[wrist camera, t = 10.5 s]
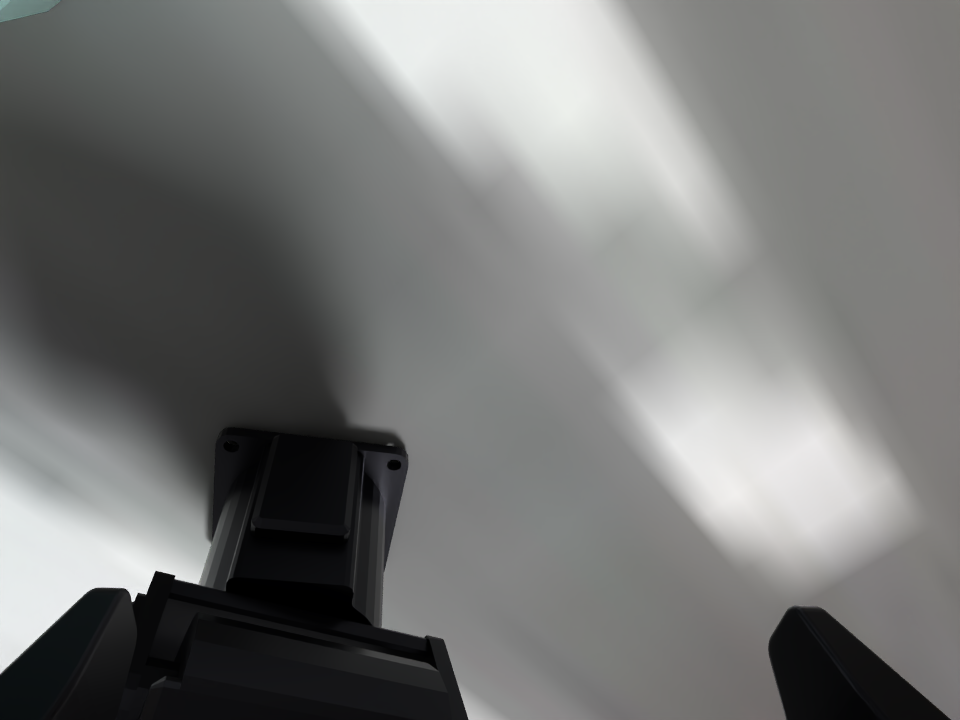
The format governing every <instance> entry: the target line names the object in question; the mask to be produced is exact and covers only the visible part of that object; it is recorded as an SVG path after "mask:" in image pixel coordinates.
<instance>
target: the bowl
mask: <svg viewBox="0 0 960 720" xmlns="http://www.w3.org/2000/svg"><path fill="white" fill-rule="evenodd" d="M60 1H61V0H0V22H4V21H9V20H13V19H18V18H22V17H26V16H31V15H35V14H39V13H44V12H48V11H49V10H50V9H51V8H53V7H54V6H55V5H56V4H57V3H59V2H60Z"/></svg>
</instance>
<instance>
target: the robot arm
mask: <svg viewBox="0 0 960 720" xmlns="http://www.w3.org/2000/svg"><path fill="white" fill-rule="evenodd" d="M227 441H235V442H236V443H237V445H233V444H229V443H228V442H227ZM390 460H398V461H399V462H397V463H391V462H389V461H390ZM407 470H408V454H407V452H406V451H405V450H403V449H402V448H399V447H393V446H385V445H377V444H368V443H360V442H352V441H343V440H335V439H327V438H318V437H310V436H301V435H293V434H285V433H276V432H268V431H260V430H251V429H243V428H235V427H234V428H226V429H223V430H222V431H221V432H220V434H219V436H218V439H217V442H216V449H215V476H214V504H213V532H212V544H211V547H210V550H209V554H208V557H207V560H206V563H205V566H204V569H203V572H202V575H201V579H200V582H199V585H197V584H193V583H189V582H185V581H180V580H176V579H175V575H171V574H167V573H162V572H158V571H155V574H154V576H153V579H152V582H151V584H150V587H149V589H148V592H147V594H146V595H145V594H141V593H138V594H137V596H136V599H135V601H134V602H132V601H131V596H130V593H129V592H128V591H127V590H126V589H124V588H94V589H92V590H90V591H88V592H87V593H86V594H85V595H84V596H83V597H82V598H80V599H79V600H78V601H77V602H76V603H75V604H74V605H73V606H72V607H71V608H70V609H69V610H68V611H67V612H66V613H65V614H63V615H62V616H61V617H60V618H59V619H58V620H57V621H56V622H55V623H54V624H53V625H52V626H51V627H50V628H49V629H47V630H46V631H45V632H44V633H43V634H42V635H41V636H40V637H39V638H38V639H37V640H36V641H35V642H34V643H33V644H32V645H30V646H29V647H28V648H27V649H26V650H25V651H24V652H23V653H22V654H21V655H20V656H19V657H18V658H17V659H16V660H15V661H13V662H12V663H11V664H10V665H9V666H8V667H7V668H6V669H5V670H4V671H3V672H2V673H1V674H0V720H468V717H467V713H466V710H465V707H464V704H463V701H462V697H461V694H460V691H459V688H458V684H457V681H456V678H455V675H454V671H453V668H452V665H451V662H450V658H449V655H448V652H447V649H446V645H445V642H444V640H443V639H440V638H436V637H432V636H428V635H426V636H425V638H422V637H418V636H414V635H409V634H405V633H401V632H397V631H392V630H388V629H384V628H381V626H382V599H383V573H384V570H385V566H386V562H387V557H388V553H389V548H390V544H391V540H392V535H393V531H394V527H395V522H396V518H397V514H398V509H399V505H400V500H401V496H402V492H403V487H404V483H405V479H406V474H407ZM768 651H769V658H770V662H771V665H772V669H773V673H774V676H775V680H776V684H777V688H778V691H779V695H780V699H781V702H782V706H783V710H784V714H785V717H786V720H951V719H950V718H948V717H947V716H946V715H945V714H944V713H943V712H942V711H940V710H939V709H938V708H937V707H936V706H935V705H933V704H932V703H931V702H930V701H929V700H928V699H927V698H925V697H924V696H923V695H922V694H921V693H920V692H919V691H917V690H916V689H915V688H914V687H913V686H912V685H910V684H909V683H908V682H907V681H906V680H905V679H904V678H902V677H901V676H900V675H899V674H898V673H897V672H895V671H894V670H893V669H892V668H891V667H890V666H889V665H887V664H886V663H885V662H884V661H883V660H882V659H881V658H879V657H878V656H877V655H876V654H875V653H874V652H872V651H871V650H870V649H869V648H868V647H867V646H866V645H864V644H863V643H862V642H861V641H860V640H859V639H857V638H856V637H855V636H854V635H853V634H852V633H851V632H849V631H848V630H847V629H846V628H845V627H844V626H843V625H841V624H840V623H839V622H838V621H837V620H836V619H834V618H833V617H832V616H831V615H830V614H829V613H828V612H826V611H825V610H824V609H822V608H820V607H817V606H799V605H795V606H792V607H790V608H789V609H788V610H787V611H786V613H785V614H784V616H783V618H782V619H781V621H780V622H779V624H778V626H777V627H776V629H775V631H774V632H773V634H772V636H771V637H770V640H769V646H768Z"/></svg>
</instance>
